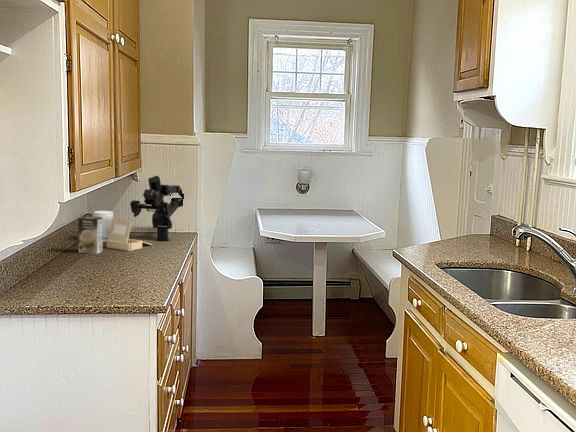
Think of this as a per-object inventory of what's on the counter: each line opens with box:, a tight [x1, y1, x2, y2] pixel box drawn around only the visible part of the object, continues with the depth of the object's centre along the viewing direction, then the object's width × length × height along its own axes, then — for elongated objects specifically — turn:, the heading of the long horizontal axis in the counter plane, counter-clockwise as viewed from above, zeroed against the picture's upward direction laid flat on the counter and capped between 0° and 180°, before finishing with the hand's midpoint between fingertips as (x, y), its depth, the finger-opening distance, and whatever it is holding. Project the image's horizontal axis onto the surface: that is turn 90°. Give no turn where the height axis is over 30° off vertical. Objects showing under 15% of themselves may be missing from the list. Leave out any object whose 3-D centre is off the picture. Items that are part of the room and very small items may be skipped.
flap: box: [108, 218, 132, 243], centre depth 281 cm, size 10×12×1 cm
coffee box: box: [78, 215, 103, 255], centre depth 272 cm, size 9×6×16 cm
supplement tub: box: [92, 210, 114, 243], centre depth 300 cm, size 10×10×15 cm
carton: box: [106, 238, 154, 252], centre depth 288 cm, size 18×15×4 cm
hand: (143, 216), depth 283 cm, fingers open, 9 cm apart
